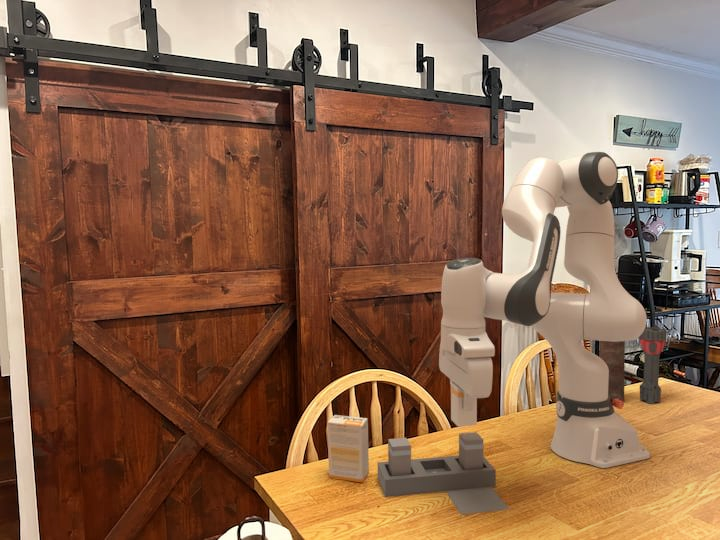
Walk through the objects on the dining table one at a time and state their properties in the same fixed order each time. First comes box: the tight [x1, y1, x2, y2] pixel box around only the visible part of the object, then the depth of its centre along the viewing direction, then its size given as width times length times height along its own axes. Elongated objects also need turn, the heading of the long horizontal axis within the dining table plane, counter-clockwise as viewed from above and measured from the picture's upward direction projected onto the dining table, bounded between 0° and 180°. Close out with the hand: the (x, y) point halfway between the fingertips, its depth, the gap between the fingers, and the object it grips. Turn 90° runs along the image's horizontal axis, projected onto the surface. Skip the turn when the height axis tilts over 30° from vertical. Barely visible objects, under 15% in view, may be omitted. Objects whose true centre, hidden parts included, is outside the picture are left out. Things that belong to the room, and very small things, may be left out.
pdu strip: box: [377, 454, 497, 498], centre depth 114 cm, size 24×8×4 cm, turn 99°
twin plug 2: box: [458, 431, 485, 470], centre depth 115 cm, size 4×4×8 cm
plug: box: [450, 382, 478, 427], centre depth 108 cm, size 4×4×8 cm
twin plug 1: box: [387, 437, 412, 476], centre depth 113 cm, size 4×4×8 cm
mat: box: [445, 487, 510, 515], centre depth 107 cm, size 10×10×1 cm
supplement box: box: [326, 414, 370, 484], centre depth 118 cm, size 8×5×13 cm, turn 71°
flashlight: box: [637, 325, 667, 405], centre depth 165 cm, size 8×8×23 cm
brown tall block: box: [598, 340, 626, 403], centre depth 165 cm, size 8×7×20 cm
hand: (462, 405), depth 108 cm, fingers closed on plug, 4 cm apart
